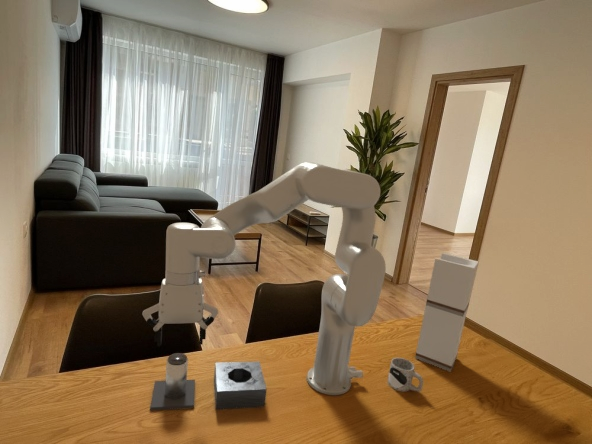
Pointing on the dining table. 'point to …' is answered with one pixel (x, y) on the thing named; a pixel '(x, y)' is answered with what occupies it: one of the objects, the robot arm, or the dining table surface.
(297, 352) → the dining table surface
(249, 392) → the housing
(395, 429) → the dining table surface
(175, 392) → the silver metal cylinder
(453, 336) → the white mini fridge
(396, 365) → the mug
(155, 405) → the rubber pad
